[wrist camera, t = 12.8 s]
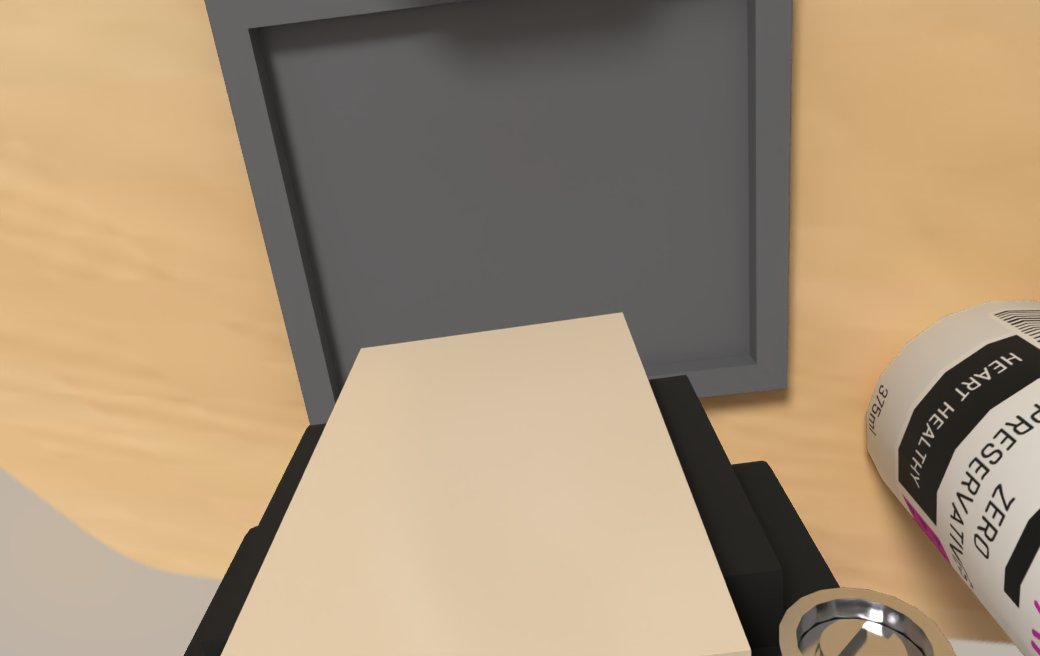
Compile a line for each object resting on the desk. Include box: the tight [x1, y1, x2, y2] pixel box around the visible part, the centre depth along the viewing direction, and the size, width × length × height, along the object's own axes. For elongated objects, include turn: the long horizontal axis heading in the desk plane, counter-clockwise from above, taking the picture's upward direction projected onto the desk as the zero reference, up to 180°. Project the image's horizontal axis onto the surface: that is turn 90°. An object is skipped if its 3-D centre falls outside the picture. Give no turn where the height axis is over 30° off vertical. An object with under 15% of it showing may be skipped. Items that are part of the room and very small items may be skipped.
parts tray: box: [204, 0, 792, 425], centre depth 24 cm, size 16×14×1 cm
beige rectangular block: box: [221, 312, 751, 656], centre depth 8 cm, size 4×4×6 cm
